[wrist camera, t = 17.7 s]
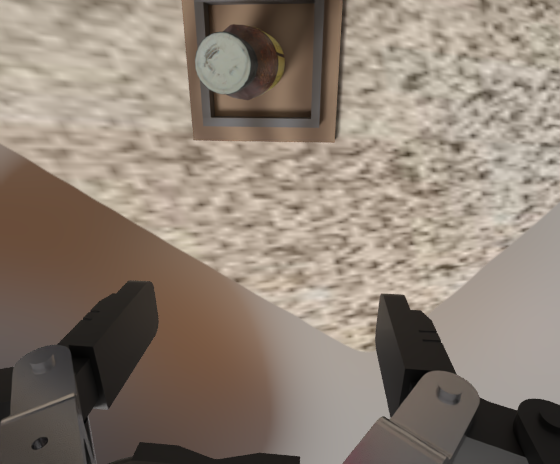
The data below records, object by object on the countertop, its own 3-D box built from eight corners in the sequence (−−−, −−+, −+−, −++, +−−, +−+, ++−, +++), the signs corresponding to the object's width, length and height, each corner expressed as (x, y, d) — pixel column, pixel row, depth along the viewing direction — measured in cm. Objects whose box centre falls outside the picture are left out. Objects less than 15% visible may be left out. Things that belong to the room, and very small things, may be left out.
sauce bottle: (228, 40, 43) (162, 13, 25) (280, 27, 42) (252, -11, 24) (241, 99, 45) (190, 114, 27) (291, 88, 44) (273, 96, 26)
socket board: (343, -27, 41) (345, -36, 38) (334, 140, 48) (335, 145, 44) (183, -23, 42) (172, -31, 39) (197, 138, 49) (188, 142, 46)
